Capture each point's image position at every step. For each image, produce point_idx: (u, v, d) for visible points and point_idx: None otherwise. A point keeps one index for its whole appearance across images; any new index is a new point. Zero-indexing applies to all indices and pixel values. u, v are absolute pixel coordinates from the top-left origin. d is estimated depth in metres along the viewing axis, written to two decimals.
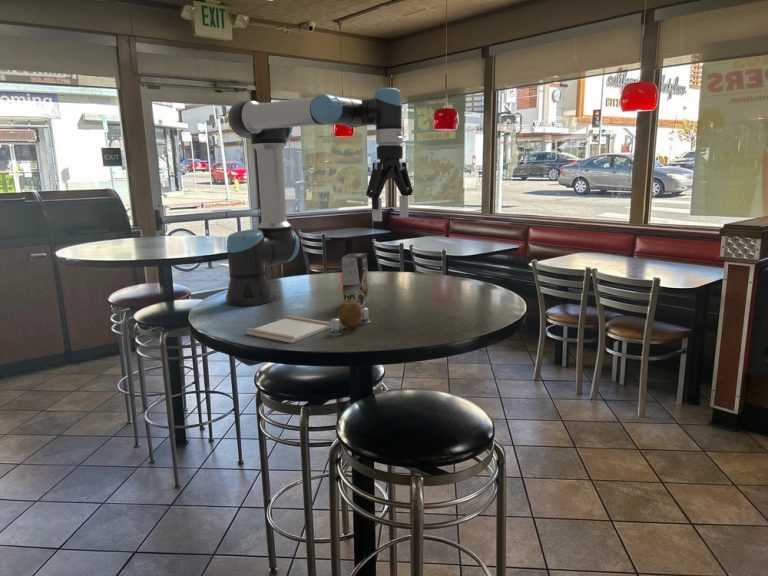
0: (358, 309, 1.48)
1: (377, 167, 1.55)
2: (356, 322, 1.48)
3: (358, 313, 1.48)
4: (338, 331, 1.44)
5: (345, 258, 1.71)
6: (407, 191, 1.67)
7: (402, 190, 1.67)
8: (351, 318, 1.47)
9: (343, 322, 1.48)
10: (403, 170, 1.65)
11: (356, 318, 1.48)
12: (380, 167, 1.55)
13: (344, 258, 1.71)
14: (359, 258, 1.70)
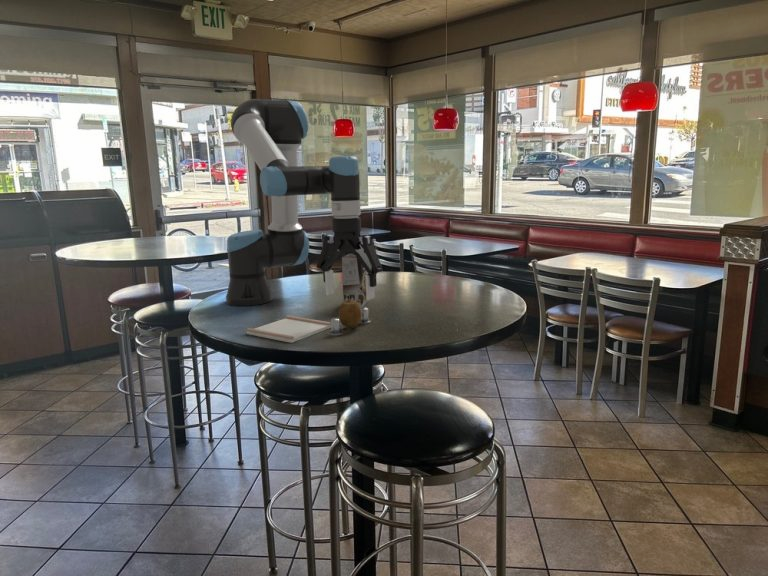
0: (358, 309, 1.48)
1: None
2: (356, 322, 1.48)
3: (358, 313, 1.48)
4: (338, 331, 1.44)
5: (345, 258, 1.71)
6: (368, 270, 1.42)
7: None
8: (351, 318, 1.47)
9: (343, 322, 1.48)
10: None
11: (356, 318, 1.48)
12: (325, 240, 1.48)
13: (344, 258, 1.71)
14: None
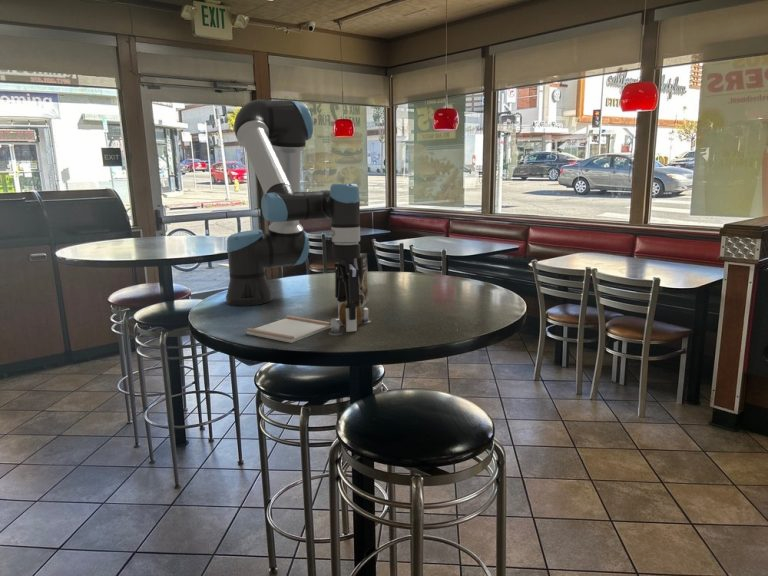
0: (359, 309, 1.48)
1: None
2: (357, 322, 1.48)
3: (359, 313, 1.48)
4: (338, 331, 1.44)
5: None
6: (347, 302, 1.44)
7: None
8: None
9: (344, 322, 1.48)
10: None
11: None
12: (335, 268, 1.52)
13: None
14: (359, 258, 1.70)
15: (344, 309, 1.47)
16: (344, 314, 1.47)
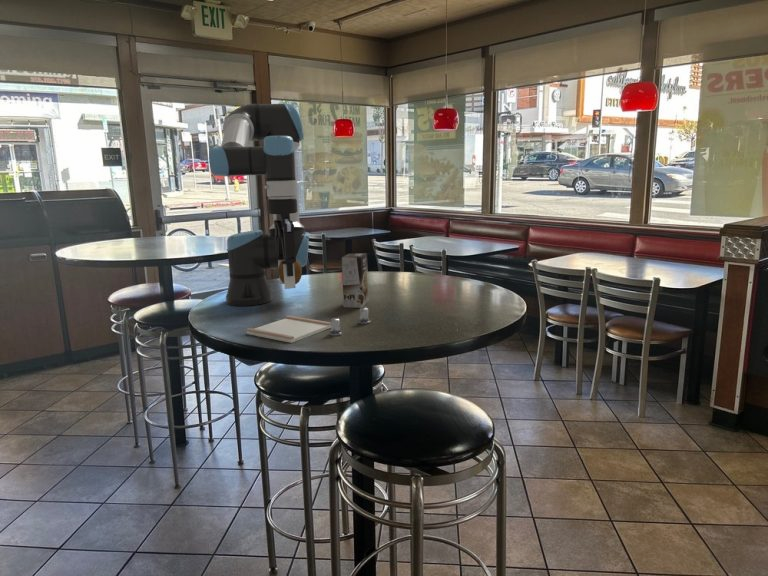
0: (297, 266, 1.45)
1: None
2: (296, 279, 1.45)
3: (297, 270, 1.45)
4: (338, 331, 1.44)
5: (345, 258, 1.71)
6: (284, 258, 1.41)
7: None
8: None
9: (282, 279, 1.45)
10: None
11: (295, 275, 1.44)
12: (274, 225, 1.49)
13: (344, 258, 1.71)
14: (359, 258, 1.70)
15: (282, 266, 1.44)
16: (282, 271, 1.44)
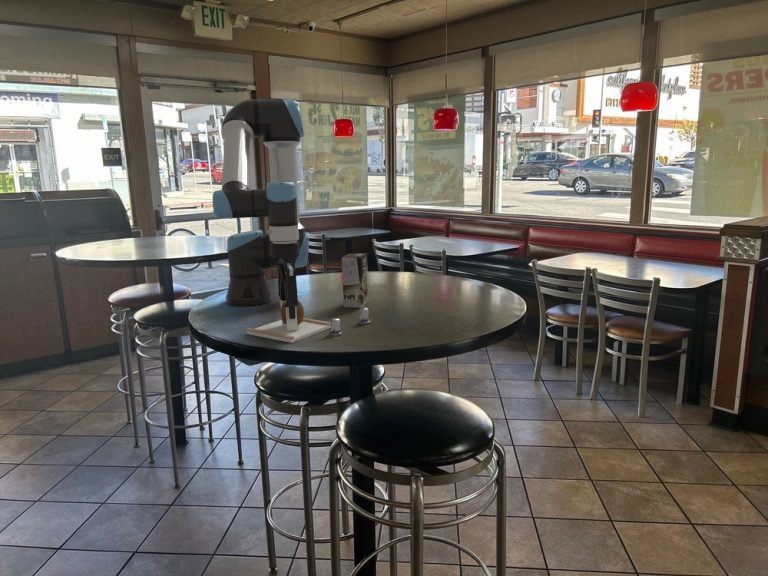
0: (299, 308, 1.47)
1: None
2: (298, 321, 1.47)
3: (299, 312, 1.47)
4: (338, 331, 1.44)
5: (345, 258, 1.71)
6: (286, 301, 1.44)
7: None
8: None
9: (285, 321, 1.47)
10: None
11: (297, 317, 1.47)
12: (277, 267, 1.51)
13: (344, 258, 1.71)
14: (359, 258, 1.70)
15: (284, 308, 1.46)
16: (284, 313, 1.46)
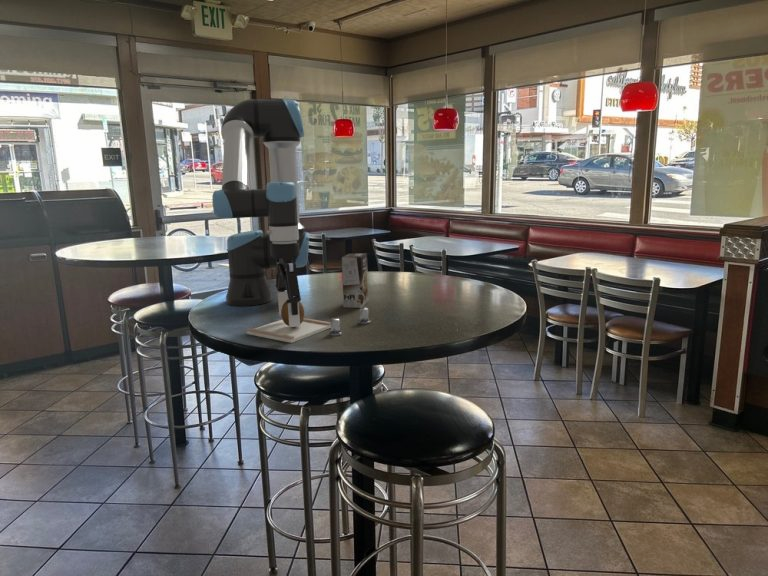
0: (300, 308, 1.47)
1: None
2: None
3: (300, 312, 1.47)
4: (338, 331, 1.44)
5: (345, 258, 1.71)
6: (288, 298, 1.41)
7: None
8: None
9: (285, 321, 1.47)
10: None
11: None
12: (276, 262, 1.51)
13: (344, 258, 1.71)
14: (359, 258, 1.70)
15: (285, 308, 1.46)
16: (285, 313, 1.46)
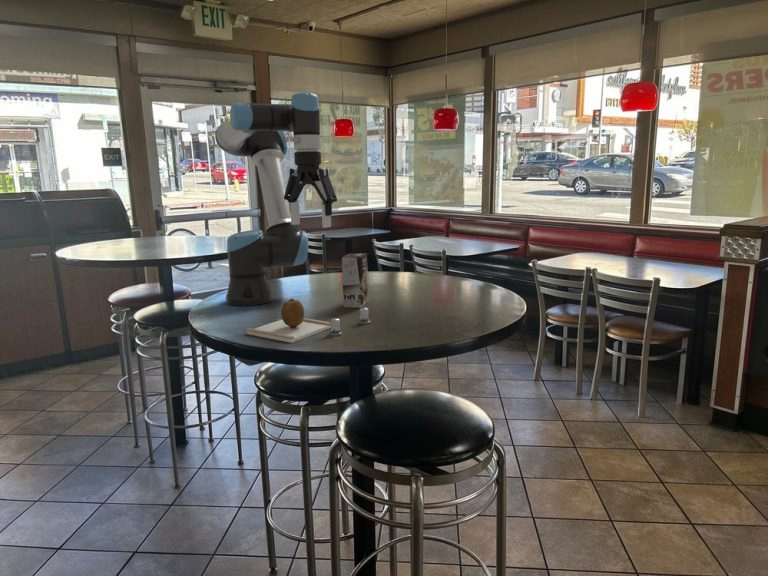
0: (300, 308, 1.47)
1: None
2: (298, 321, 1.47)
3: (300, 312, 1.47)
4: (338, 331, 1.44)
5: (345, 258, 1.71)
6: (323, 200, 1.54)
7: None
8: (293, 317, 1.46)
9: (285, 321, 1.47)
10: None
11: (297, 317, 1.47)
12: (290, 173, 1.61)
13: (344, 258, 1.71)
14: (359, 258, 1.70)
15: (285, 308, 1.46)
16: (285, 313, 1.46)
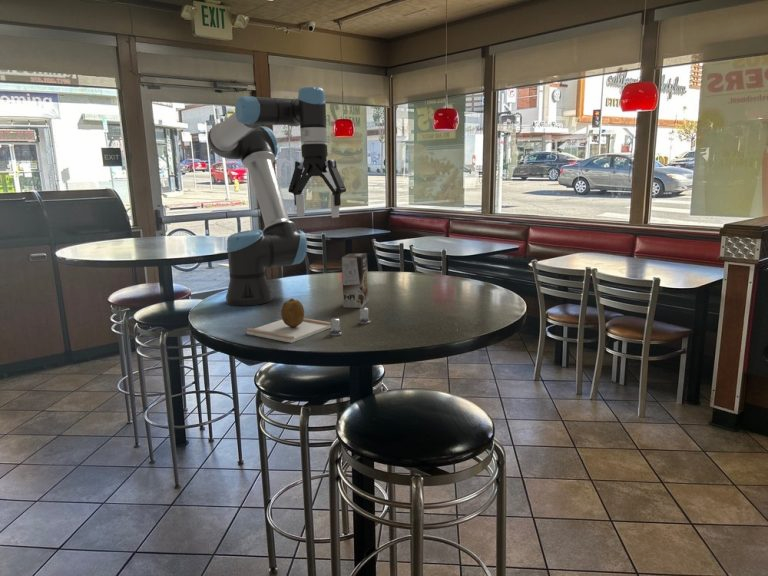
0: (300, 308, 1.47)
1: None
2: (298, 321, 1.47)
3: (300, 312, 1.47)
4: (338, 331, 1.44)
5: (345, 258, 1.71)
6: (332, 190, 1.59)
7: None
8: (293, 317, 1.46)
9: (285, 321, 1.47)
10: None
11: (297, 317, 1.47)
12: (296, 166, 1.65)
13: (344, 258, 1.71)
14: (359, 258, 1.70)
15: (285, 308, 1.46)
16: (285, 313, 1.46)
